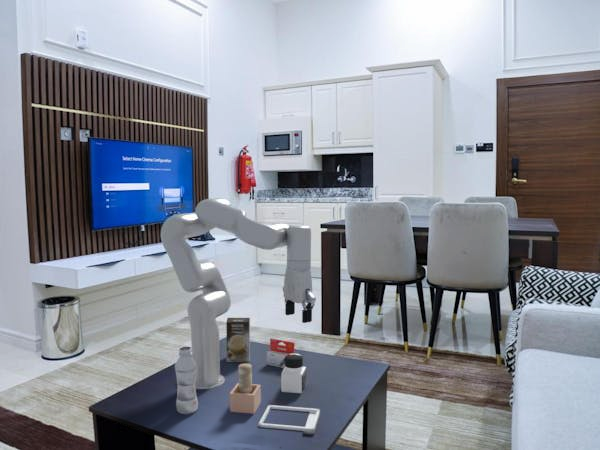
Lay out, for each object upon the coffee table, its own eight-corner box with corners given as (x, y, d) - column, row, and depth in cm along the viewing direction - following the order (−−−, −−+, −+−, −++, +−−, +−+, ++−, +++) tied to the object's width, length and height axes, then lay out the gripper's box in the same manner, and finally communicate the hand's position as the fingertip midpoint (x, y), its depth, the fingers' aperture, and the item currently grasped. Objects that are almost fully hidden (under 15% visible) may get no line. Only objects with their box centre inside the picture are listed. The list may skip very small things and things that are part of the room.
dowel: (237, 409, 148) (236, 367, 146) (241, 403, 152) (240, 363, 150) (250, 410, 147) (249, 368, 146) (253, 404, 151) (253, 363, 150)
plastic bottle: (187, 419, 143) (185, 353, 141) (171, 413, 146) (169, 349, 145) (202, 410, 148) (201, 347, 146) (186, 405, 152) (185, 343, 150)
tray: (258, 429, 137) (258, 424, 137) (268, 409, 149) (268, 404, 149) (314, 434, 134) (314, 429, 134) (320, 413, 146) (320, 409, 146)
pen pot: (230, 414, 146) (229, 393, 146) (237, 402, 154) (237, 383, 153) (254, 416, 145) (254, 395, 144) (260, 404, 152) (260, 384, 152)
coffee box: (226, 362, 188) (225, 322, 186) (227, 356, 194) (226, 317, 193) (249, 362, 188) (249, 321, 187) (250, 356, 195) (250, 317, 193)
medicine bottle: (302, 395, 159) (302, 360, 157) (281, 393, 160) (280, 358, 159) (306, 386, 166) (306, 352, 164) (286, 384, 167) (285, 351, 166)
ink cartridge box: (291, 370, 180) (291, 344, 179) (266, 364, 186) (266, 339, 185) (295, 367, 182) (294, 342, 182) (270, 362, 188) (269, 338, 187)
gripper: (274, 261, 157) (274, 313, 158) (304, 270, 142) (303, 327, 144) (293, 259, 161) (293, 310, 162) (324, 268, 146) (324, 323, 148)
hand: (298, 318), depth 153 cm, fingers open, 9 cm apart
